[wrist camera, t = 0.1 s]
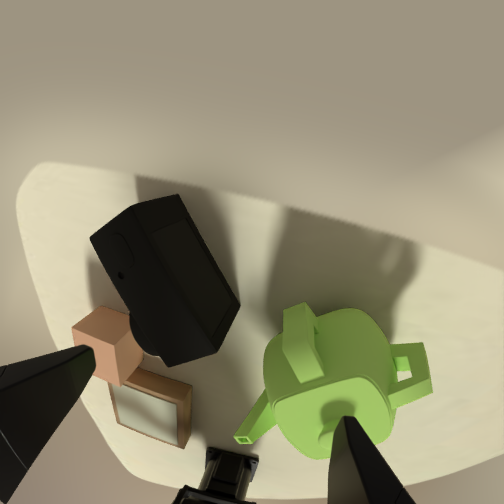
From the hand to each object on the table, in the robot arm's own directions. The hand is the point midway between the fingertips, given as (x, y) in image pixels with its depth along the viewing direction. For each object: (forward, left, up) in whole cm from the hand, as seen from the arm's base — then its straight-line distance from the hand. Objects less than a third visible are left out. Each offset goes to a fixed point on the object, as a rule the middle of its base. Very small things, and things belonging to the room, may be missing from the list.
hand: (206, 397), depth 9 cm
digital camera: (-2, +7, -15) cm, 16 cm away
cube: (-11, +13, -15) cm, 23 cm away
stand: (-19, +10, -15) cm, 26 cm away
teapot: (-7, -7, -15) cm, 18 cm away
